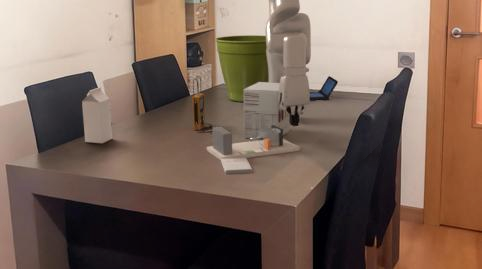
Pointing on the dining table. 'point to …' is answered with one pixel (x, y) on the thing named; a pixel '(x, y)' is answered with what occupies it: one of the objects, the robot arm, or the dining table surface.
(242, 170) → the external hard drive
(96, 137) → the milk carton
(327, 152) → the dining table surface
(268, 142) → the small orange block
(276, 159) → the dining table surface
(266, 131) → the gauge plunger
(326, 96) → the handheld game console
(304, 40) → the robot arm
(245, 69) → the plant pot
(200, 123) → the multimeter
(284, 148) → the base
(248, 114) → the supplement box
